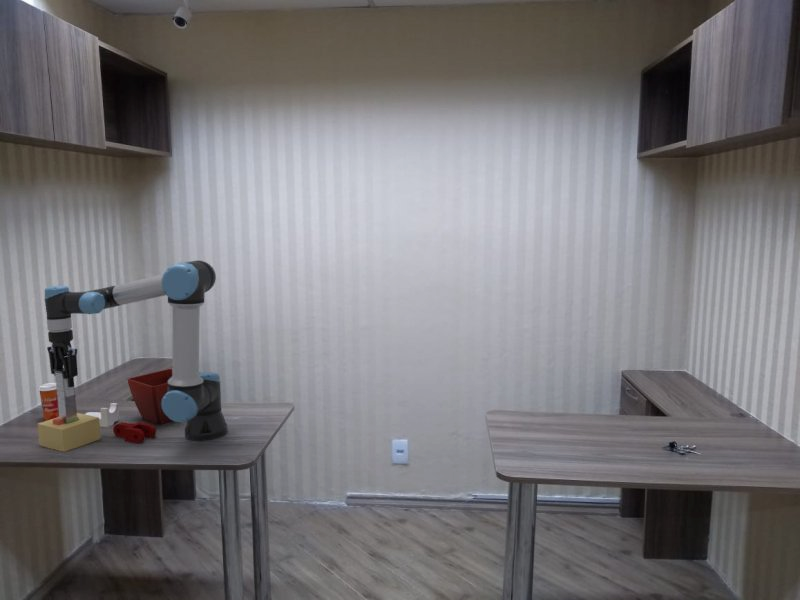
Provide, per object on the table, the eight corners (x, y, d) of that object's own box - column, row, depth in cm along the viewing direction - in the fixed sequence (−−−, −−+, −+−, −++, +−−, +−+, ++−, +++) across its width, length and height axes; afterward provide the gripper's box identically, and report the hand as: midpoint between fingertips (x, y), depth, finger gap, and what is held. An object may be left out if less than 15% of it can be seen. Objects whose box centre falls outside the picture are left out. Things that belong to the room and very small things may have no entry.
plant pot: (155, 429, 229) (152, 386, 226) (129, 419, 240) (126, 378, 238) (199, 415, 244) (196, 375, 241) (172, 407, 255) (169, 368, 253)
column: (79, 425, 216) (74, 368, 214) (67, 429, 212) (61, 371, 210) (71, 423, 219) (66, 367, 216) (58, 427, 215) (53, 370, 212)
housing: (100, 438, 219) (98, 413, 218) (64, 452, 207) (61, 425, 206) (76, 432, 226) (74, 408, 224) (39, 445, 214) (36, 419, 212)
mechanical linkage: (156, 437, 220) (155, 424, 219) (141, 444, 214) (140, 431, 213) (124, 432, 226) (123, 419, 226) (108, 438, 220) (107, 425, 219)
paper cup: (37, 422, 238) (33, 387, 236) (47, 415, 246) (44, 382, 244) (57, 421, 238) (54, 387, 237) (67, 415, 246) (64, 382, 244)
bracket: (119, 421, 238) (117, 403, 237) (108, 428, 231) (106, 409, 230) (89, 420, 240) (87, 402, 239) (77, 426, 233) (75, 407, 232)
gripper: (85, 330, 210) (91, 394, 213) (55, 326, 218) (61, 389, 221) (65, 333, 203) (71, 400, 207) (34, 330, 211) (41, 394, 215)
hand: (66, 394), depth 214 cm, fingers closed on column, 4 cm apart
